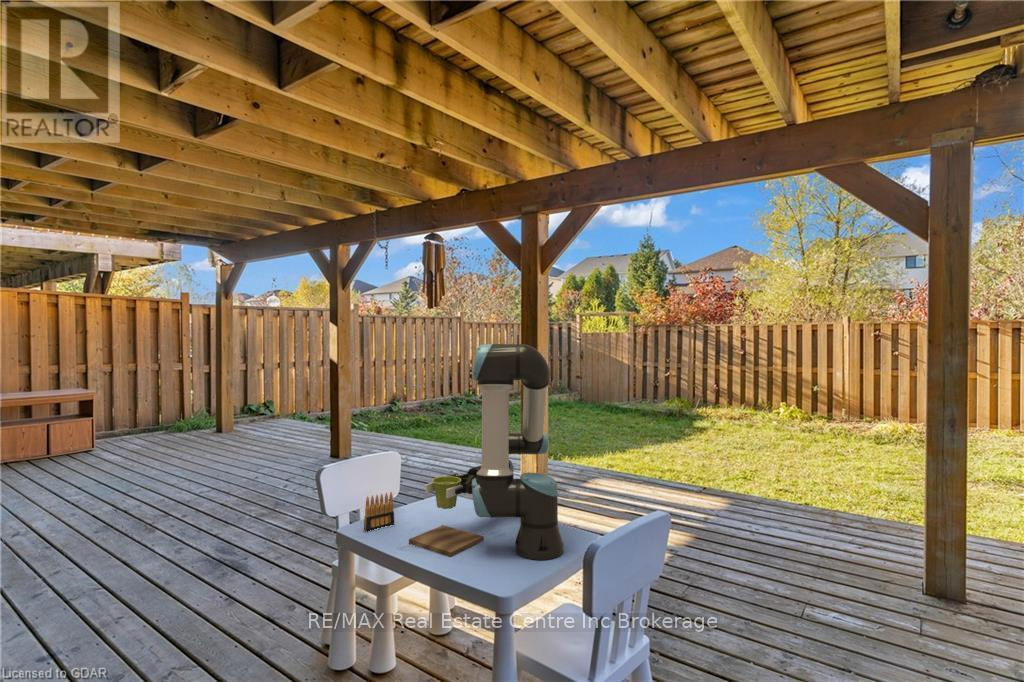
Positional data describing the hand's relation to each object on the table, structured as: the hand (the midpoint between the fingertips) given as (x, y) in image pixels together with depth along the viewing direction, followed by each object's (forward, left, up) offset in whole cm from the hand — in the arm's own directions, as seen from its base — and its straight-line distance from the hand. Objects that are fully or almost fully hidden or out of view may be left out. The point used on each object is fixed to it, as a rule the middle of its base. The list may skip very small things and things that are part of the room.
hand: (436, 491), depth 165 cm
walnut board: (0, -5, -18) cm, 18 cm away
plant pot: (0, -5, -6) cm, 8 cm away
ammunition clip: (+28, -1, -18) cm, 33 cm away
